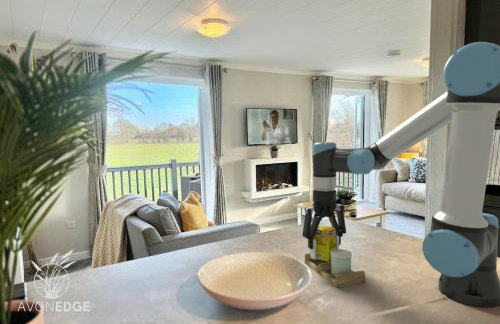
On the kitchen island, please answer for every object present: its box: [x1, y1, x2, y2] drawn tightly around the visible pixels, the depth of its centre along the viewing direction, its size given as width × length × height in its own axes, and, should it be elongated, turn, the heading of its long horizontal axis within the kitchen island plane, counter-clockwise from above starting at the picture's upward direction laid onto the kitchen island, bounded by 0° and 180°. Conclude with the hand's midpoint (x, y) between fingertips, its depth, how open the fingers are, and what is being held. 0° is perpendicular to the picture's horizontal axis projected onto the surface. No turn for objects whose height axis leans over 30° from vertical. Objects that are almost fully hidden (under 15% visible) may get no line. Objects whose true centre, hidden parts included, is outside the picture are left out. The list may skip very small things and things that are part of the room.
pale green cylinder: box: [331, 248, 352, 279], centre depth 103 cm, size 6×6×8 cm
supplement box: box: [313, 224, 336, 263], centre depth 112 cm, size 6×6×11 cm
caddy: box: [304, 252, 366, 289], centre depth 108 cm, size 20×10×4 cm, turn 18°
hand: (324, 256), depth 112 cm, fingers closed on supplement box, 8 cm apart
